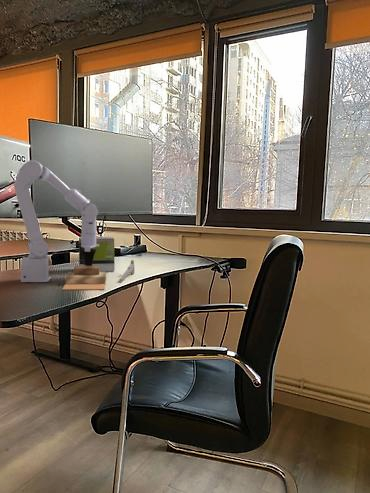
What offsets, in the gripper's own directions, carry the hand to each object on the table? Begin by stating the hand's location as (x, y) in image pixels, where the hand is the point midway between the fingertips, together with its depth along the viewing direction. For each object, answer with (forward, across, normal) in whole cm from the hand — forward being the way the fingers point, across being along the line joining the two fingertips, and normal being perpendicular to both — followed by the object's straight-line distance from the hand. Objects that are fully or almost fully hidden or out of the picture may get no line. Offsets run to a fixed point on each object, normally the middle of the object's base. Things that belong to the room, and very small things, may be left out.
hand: (88, 267), depth 157 cm
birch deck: (+4, -9, 0) cm, 10 cm away
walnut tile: (0, -8, 0) cm, 8 cm away
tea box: (+4, +17, -2) cm, 18 cm away
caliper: (+4, -1, -15) cm, 16 cm away
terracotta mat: (+4, -19, 0) cm, 19 cm away
